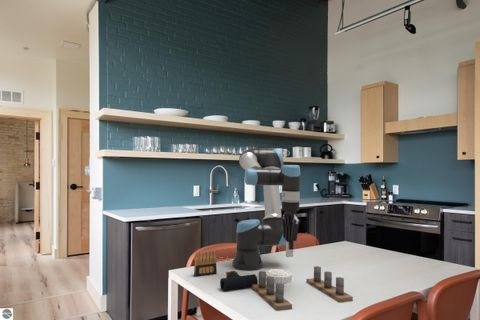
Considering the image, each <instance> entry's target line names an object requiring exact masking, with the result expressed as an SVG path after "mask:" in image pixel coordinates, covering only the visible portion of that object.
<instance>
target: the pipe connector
mask: <svg viewBox="0 0 480 320" xmlns="http://www.w3.org/2000/svg"><path fill="white" fill-rule="evenodd" d="M225 273H226V274H225V276H226V277H221V279H220V281H219V285H220V290H221V291H222V292H228V291H233V290H234V291H235V290H240V289H247V288H252V285H253V284H259V279H258V277H257V274H255V273H253V274H245V275H240V274H238V272H237V271H235V270H230V271H226V272H225Z"/></svg>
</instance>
